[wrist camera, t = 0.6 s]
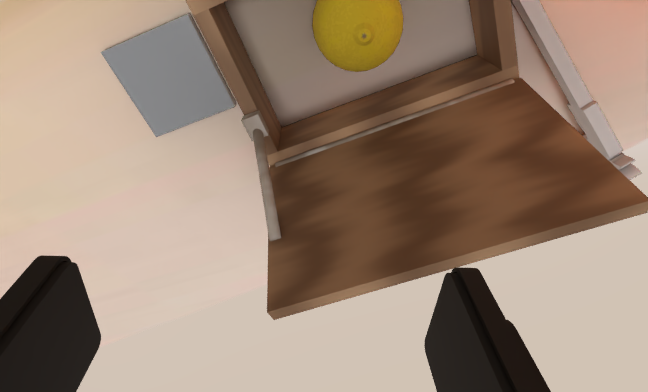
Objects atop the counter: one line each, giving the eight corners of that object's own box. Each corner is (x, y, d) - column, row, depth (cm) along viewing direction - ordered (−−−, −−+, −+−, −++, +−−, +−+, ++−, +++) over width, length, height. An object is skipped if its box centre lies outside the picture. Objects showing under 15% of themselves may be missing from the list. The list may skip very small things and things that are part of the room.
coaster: (189, 12, 28) (187, 14, 27) (236, 104, 31) (234, 106, 31) (104, 50, 29) (100, 52, 28) (158, 134, 32) (156, 137, 32)
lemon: (312, -32, 26) (313, -25, 20) (394, -30, 27) (424, -22, 20) (311, 54, 29) (312, 86, 23) (385, 55, 30) (409, 87, 23)
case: (466, -128, 24) (687, -233, 10) (497, 95, 31) (649, 214, 17) (200, -9, 27) (83, 39, 13) (286, 169, 34) (271, 322, 20)
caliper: (596, 148, 35) (648, 185, 29) (584, 156, 35) (633, 193, 30) (493, -71, 26) (541, -75, 20) (478, -58, 26) (522, -60, 21)
